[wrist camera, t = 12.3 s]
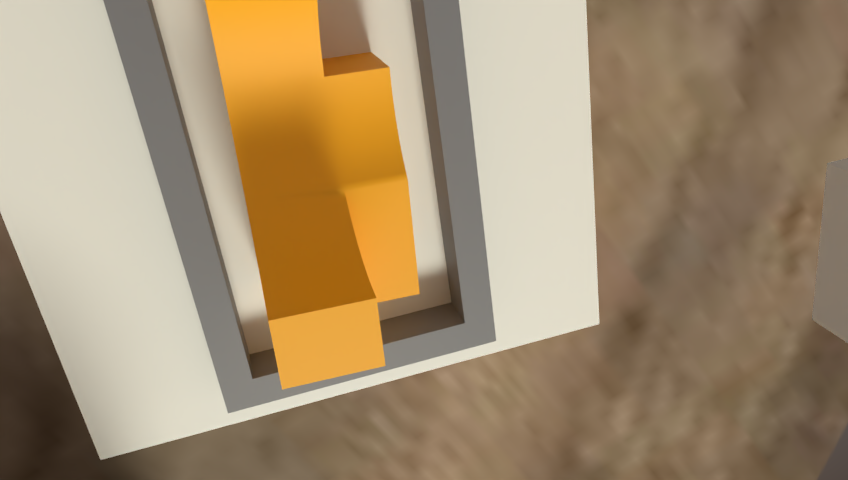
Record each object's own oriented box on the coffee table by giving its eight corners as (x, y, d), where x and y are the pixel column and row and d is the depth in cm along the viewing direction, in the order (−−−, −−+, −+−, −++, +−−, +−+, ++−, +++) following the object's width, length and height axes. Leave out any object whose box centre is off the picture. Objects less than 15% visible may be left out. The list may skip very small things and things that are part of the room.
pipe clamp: (394, 249, 25) (452, 350, 20) (261, 276, 24) (282, 389, 19) (346, -161, 20) (405, -187, 15) (177, -146, 19) (169, -168, 14)
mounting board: (105, 432, 27) (95, 490, 24) (-157, -235, 18) (-217, -259, 16) (581, 305, 30) (619, 344, 27) (549, -310, 21) (599, -340, 19)
